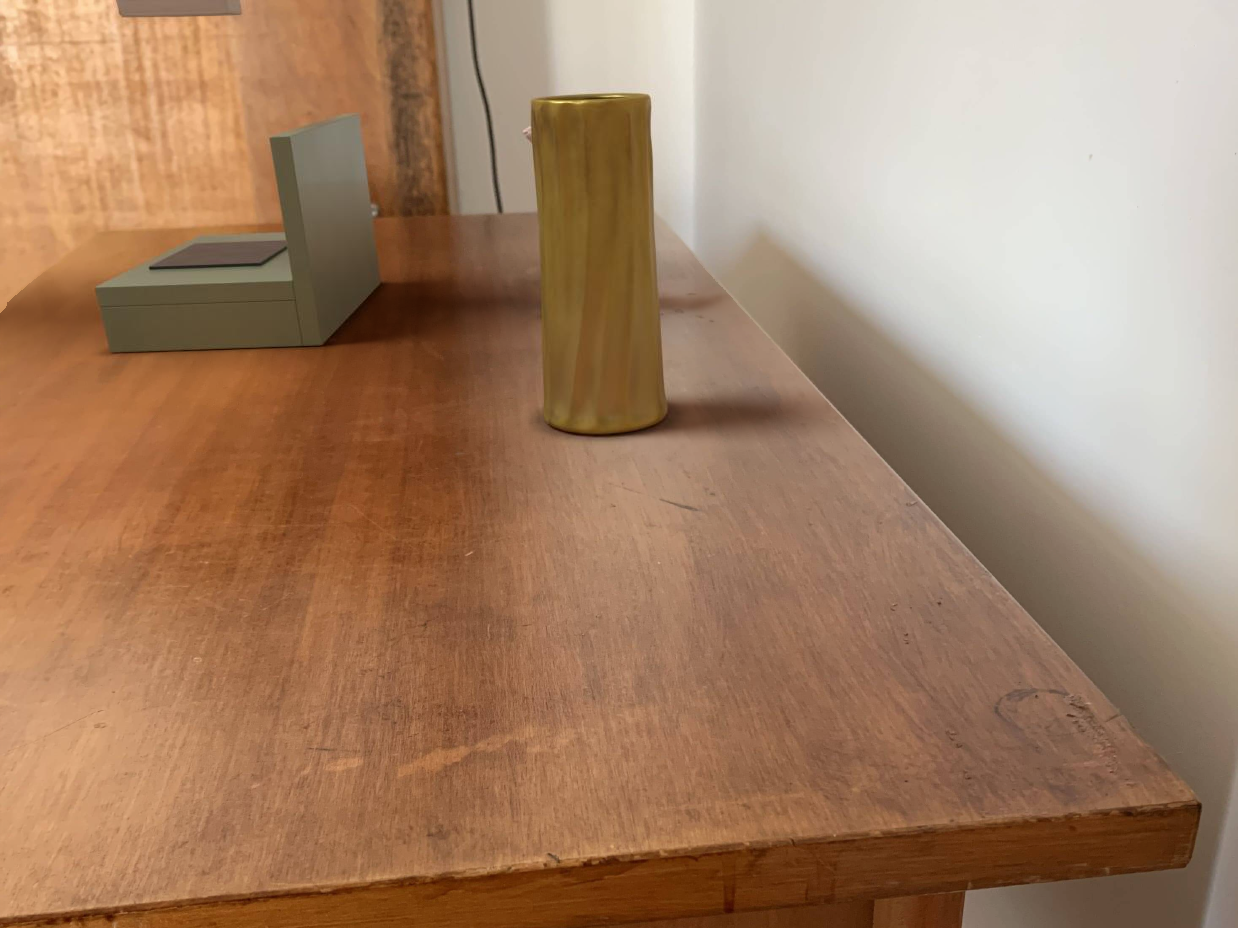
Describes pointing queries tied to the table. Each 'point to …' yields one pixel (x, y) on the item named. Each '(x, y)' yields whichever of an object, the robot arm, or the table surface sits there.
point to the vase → (598, 262)
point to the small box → (178, 8)
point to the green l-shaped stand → (262, 261)
